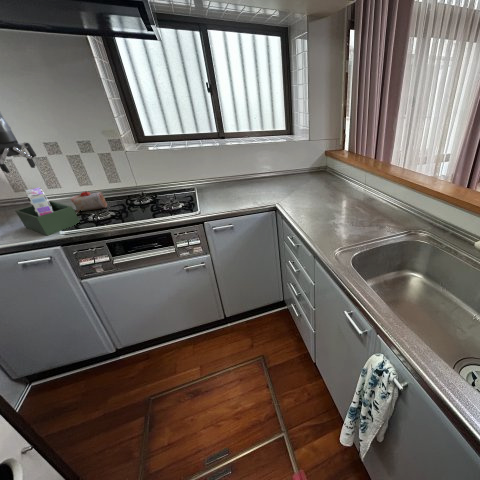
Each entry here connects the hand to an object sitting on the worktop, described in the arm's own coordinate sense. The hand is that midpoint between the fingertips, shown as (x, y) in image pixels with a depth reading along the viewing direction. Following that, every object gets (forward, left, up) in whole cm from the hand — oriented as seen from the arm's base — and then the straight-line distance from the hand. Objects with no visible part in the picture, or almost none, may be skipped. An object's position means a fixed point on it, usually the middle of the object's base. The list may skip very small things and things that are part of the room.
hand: (20, 170), depth 116 cm
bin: (0, 0, -27) cm, 27 cm away
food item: (+10, +18, -27) cm, 34 cm away
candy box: (0, 0, -26) cm, 26 cm away
